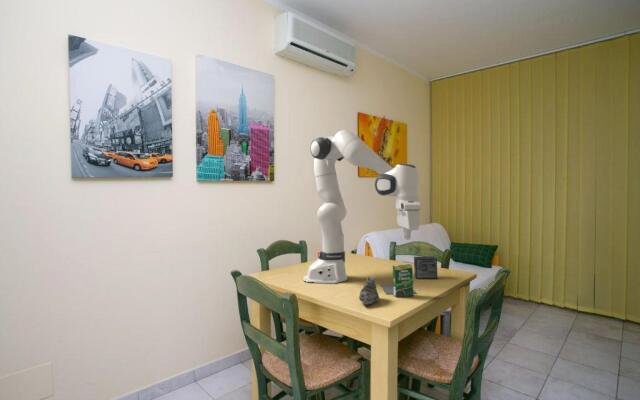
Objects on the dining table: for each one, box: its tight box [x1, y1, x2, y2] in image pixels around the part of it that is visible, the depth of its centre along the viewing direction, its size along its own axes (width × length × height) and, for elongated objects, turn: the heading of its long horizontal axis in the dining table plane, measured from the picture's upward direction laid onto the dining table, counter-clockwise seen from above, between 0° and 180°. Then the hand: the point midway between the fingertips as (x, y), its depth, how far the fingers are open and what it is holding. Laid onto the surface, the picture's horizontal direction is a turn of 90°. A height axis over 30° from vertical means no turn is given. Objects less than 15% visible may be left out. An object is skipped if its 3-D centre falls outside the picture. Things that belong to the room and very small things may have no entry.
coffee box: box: [392, 263, 414, 298], centre depth 144 cm, size 8×3×13 cm, turn 98°
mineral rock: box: [358, 276, 380, 306], centre depth 137 cm, size 13×11×10 cm
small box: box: [413, 256, 438, 280], centre depth 174 cm, size 11×6×10 cm, turn 84°
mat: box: [380, 284, 418, 295], centre depth 153 cm, size 13×14×1 cm
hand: (407, 239), depth 136 cm, fingers closed
